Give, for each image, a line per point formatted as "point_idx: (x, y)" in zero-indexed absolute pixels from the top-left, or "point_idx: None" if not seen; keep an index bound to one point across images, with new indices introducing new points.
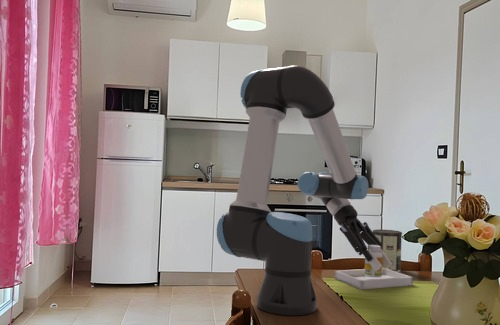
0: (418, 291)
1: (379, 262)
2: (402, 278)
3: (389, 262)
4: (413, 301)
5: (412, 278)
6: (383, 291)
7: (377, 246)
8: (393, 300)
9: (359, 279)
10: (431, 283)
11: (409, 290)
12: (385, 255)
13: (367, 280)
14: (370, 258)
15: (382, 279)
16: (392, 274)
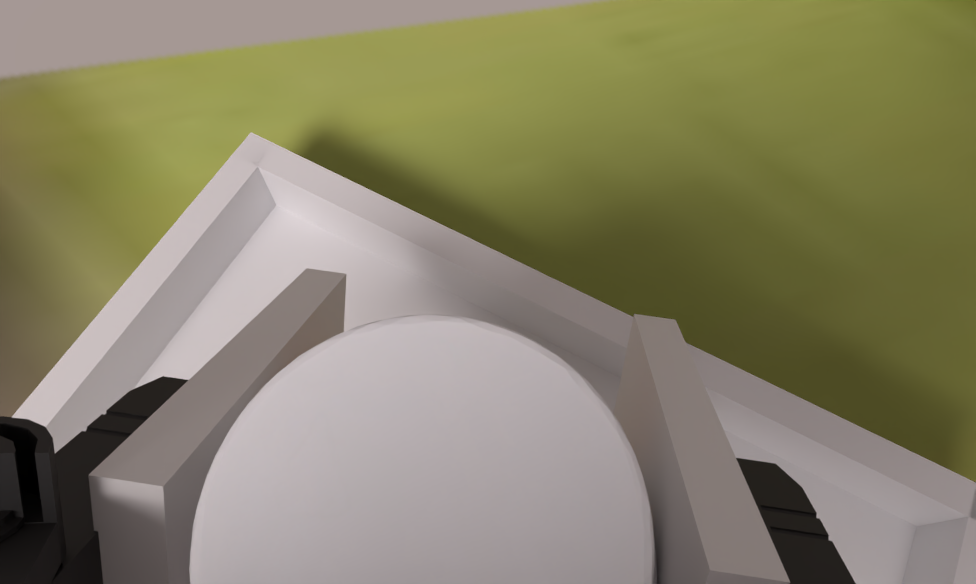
0: (488, 87)
1: (642, 345)
2: (388, 202)
3: (334, 288)
4: (842, 33)
5: (260, 144)
6: (777, 304)
7: (489, 371)
8: (971, 139)
9: (959, 567)
10: (57, 88)
11: (518, 148)
12: (244, 342)
13: (900, 456)
14: (787, 482)
15: None
16: (69, 437)
